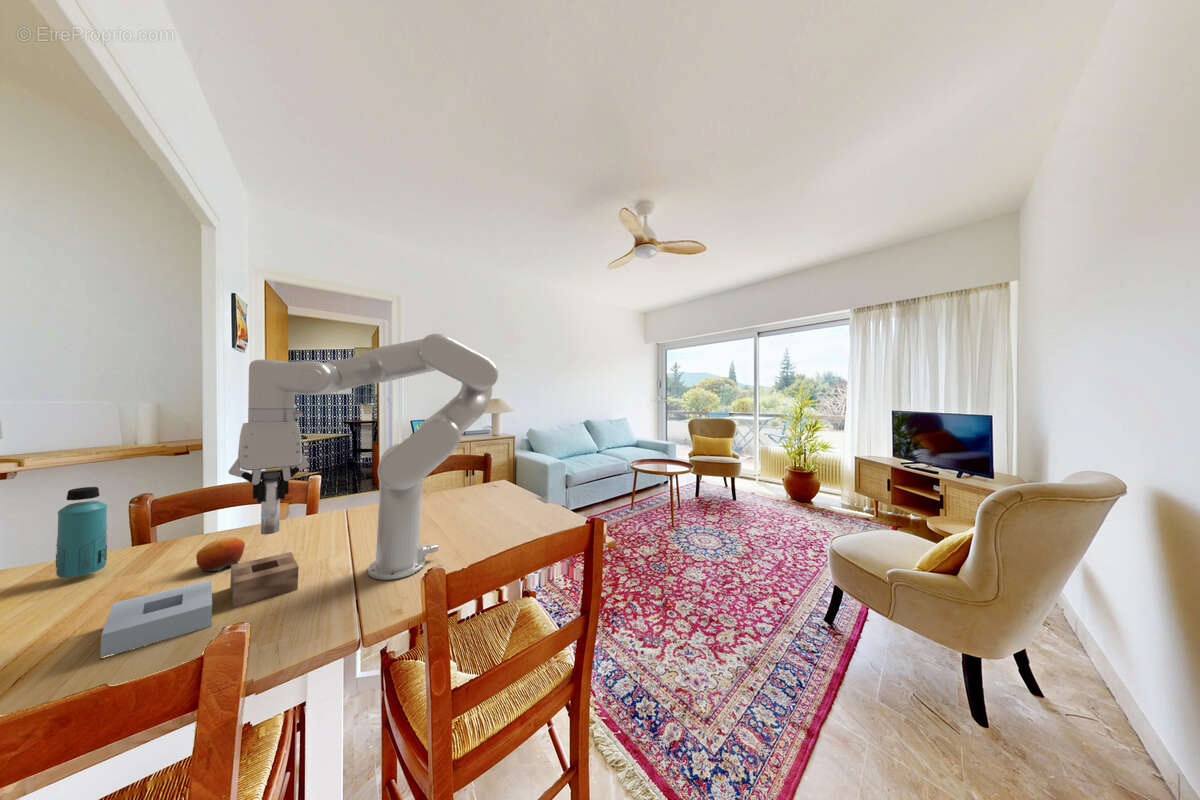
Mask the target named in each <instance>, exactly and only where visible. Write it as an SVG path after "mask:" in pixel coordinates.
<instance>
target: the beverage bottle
mask: <svg viewBox="0 0 1200 800" xmlns="http://www.w3.org/2000/svg"><path fill="white" fill-rule="evenodd" d="M98 497H100V491H99V487H97V486H86V487H77V488H76V487H75V488H73V489H69V490H68V491H67V495H66V498H65V499H66V501H79V502H74V503H70V504H67V505H65V506H64V507H61V509H59V510H58V511H57V537H56V547H55V548H56V549H55V550H56V553H55V562H54V563H55V568H56V569H55V570H54V571H55V573H54V574H56V576H57V577H58V578H61V579H67V578H74V577H76V578H77V577H81V576H86V575H89V574H93V573H95V572H99V571H101V570H102V569H104V568H105V566H106V564H107V563H108V558H107V556H108V553H107V552H108V538H107V536H108V534H107V530H108V522H107V513H108V511H107V509H108V505H107V504H106V503H104V502H101V501H99V500H88V499H95V498H98ZM80 500H82V501H81V502H80ZM83 500H87V501H83Z"/></svg>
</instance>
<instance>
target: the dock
mask: <svg viewBox="0 0 1200 800" xmlns="http://www.w3.org/2000/svg"><path fill="white" fill-rule="evenodd" d="M212 594H213V591H212V580H211V579H209V580H204V581H201V582H195V583H192V584H191V583H190V584H188V585H184V586H178V587H175V588H171V589H167V590H162V591H159V592H153V593H150V594H145V595H142V596H138V597H137V596H136V597H132V598H128V599H124V600H121V601H115V602H113V603H112V605H111V608H110V611H109V613H108V616H107V619H106V622H105V624H104V627H103V629H102V632H101V637H100V655H99V656H100V657H104V656H107V655H111V654H117V653H121V652H124V651H127V650H130V649H133V648H137V649H139V648H138V647H141V646H144V645H147V644H150V643H154V642H157V641H160V642H162V641H161V640H164V641H166V640H165V639H167V640H169V638H170V639H173V638H177V637H181V636H182V635H186V634H189V633H193V632H196V631H201V630H203V629H207V628H209V627H212V621H213V620H212V619H213V617H212V616H213V595H212ZM157 643H158V642H157ZM154 644H155V643H154ZM147 646H148V645H147ZM144 647H145V646H144ZM141 648H142V647H141ZM127 652H128V651H127ZM124 653H125V652H124ZM121 654H122V653H121ZM117 655H118V654H117ZM100 657H99V658H100Z"/></svg>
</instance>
